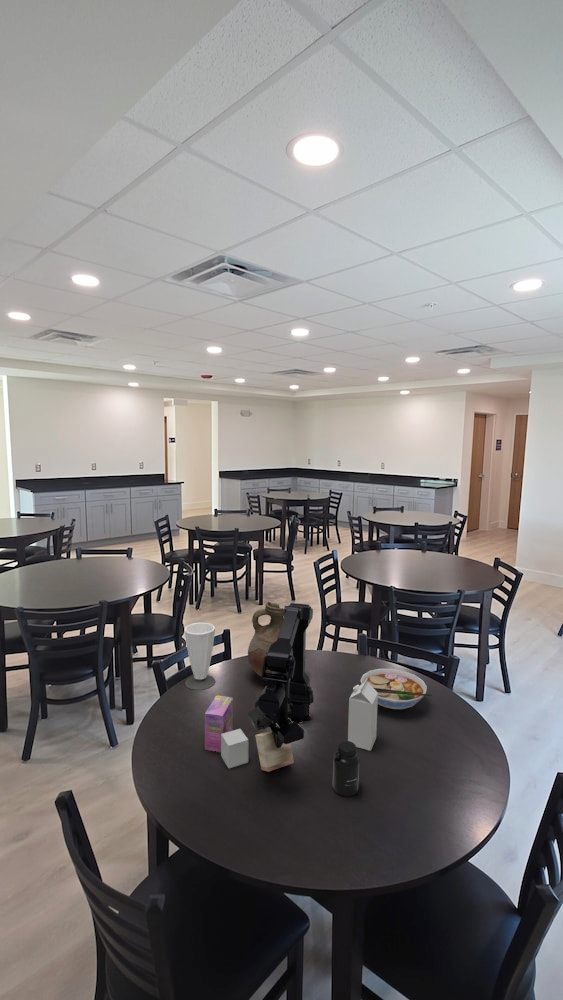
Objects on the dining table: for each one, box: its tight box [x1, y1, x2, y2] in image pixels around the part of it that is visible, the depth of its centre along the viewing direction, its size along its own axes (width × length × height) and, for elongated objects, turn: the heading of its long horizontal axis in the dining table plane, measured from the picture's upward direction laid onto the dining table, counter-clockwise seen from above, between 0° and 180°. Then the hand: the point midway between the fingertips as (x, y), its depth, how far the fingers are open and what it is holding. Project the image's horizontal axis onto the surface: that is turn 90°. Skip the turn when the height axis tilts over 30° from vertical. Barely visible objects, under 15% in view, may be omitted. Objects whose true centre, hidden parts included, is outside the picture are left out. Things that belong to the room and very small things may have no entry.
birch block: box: [254, 730, 295, 772], centre depth 135 cm, size 8×5×9 cm, turn 118°
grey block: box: [220, 728, 249, 769], centre depth 138 cm, size 6×6×7 cm
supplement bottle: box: [332, 740, 360, 797], centre depth 127 cm, size 7×7×12 cm
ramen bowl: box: [359, 668, 431, 710], centre depth 169 cm, size 25×23×8 cm
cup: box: [184, 621, 216, 691], centre depth 181 cm, size 12×12×22 cm
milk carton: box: [347, 679, 379, 752], centre depth 146 cm, size 7×7×19 cm
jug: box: [247, 601, 284, 677], centre depth 184 cm, size 22×22×30 cm
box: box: [204, 695, 234, 753], centre depth 146 cm, size 10×6×12 cm, turn 168°
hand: (278, 747), depth 133 cm, fingers closed
